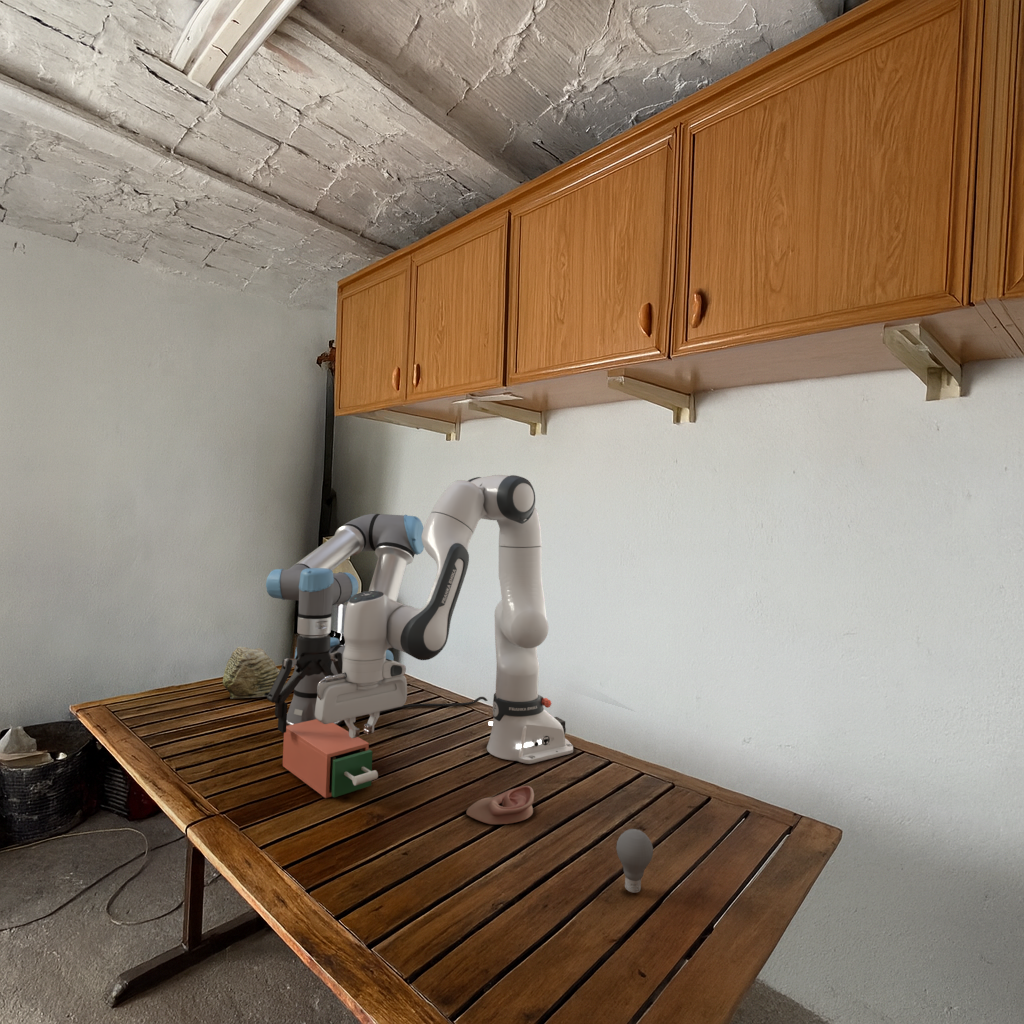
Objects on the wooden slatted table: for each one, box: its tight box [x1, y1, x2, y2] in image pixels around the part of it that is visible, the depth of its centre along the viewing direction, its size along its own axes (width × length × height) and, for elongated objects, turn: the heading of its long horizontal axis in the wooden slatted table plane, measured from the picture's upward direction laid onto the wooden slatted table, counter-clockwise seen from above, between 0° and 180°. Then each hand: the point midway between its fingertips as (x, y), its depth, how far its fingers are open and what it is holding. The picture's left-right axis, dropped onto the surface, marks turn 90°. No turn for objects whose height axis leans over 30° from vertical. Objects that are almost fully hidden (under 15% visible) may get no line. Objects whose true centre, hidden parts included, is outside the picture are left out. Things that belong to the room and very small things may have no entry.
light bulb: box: [615, 828, 654, 894], centre depth 106 cm, size 6×6×10 cm
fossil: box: [222, 646, 287, 699], centre depth 198 cm, size 9×18×15 cm, turn 132°
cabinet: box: [282, 719, 370, 799], centre depth 144 cm, size 21×10×9 cm, turn 45°
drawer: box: [329, 749, 379, 798], centre depth 140 cm, size 25×9×8 cm, turn 44°
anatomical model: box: [465, 785, 535, 825], centre depth 130 cm, size 13×4×12 cm
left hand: (309, 725), depth 149 cm, fingers open, 13 cm apart
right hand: (361, 734), depth 133 cm, fingers closed
